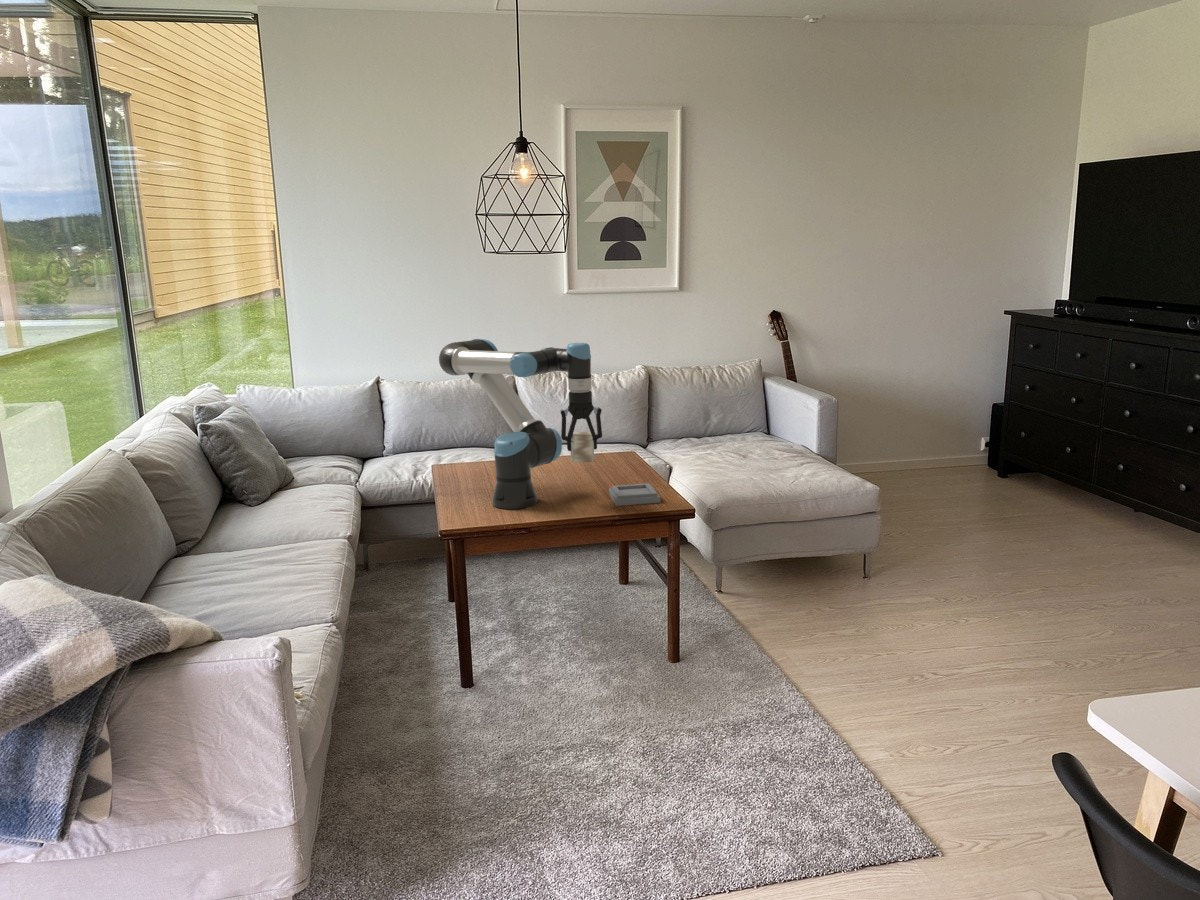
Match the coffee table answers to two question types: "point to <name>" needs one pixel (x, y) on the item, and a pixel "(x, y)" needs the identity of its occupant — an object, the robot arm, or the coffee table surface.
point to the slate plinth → (634, 494)
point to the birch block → (582, 447)
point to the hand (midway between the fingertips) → (582, 459)
